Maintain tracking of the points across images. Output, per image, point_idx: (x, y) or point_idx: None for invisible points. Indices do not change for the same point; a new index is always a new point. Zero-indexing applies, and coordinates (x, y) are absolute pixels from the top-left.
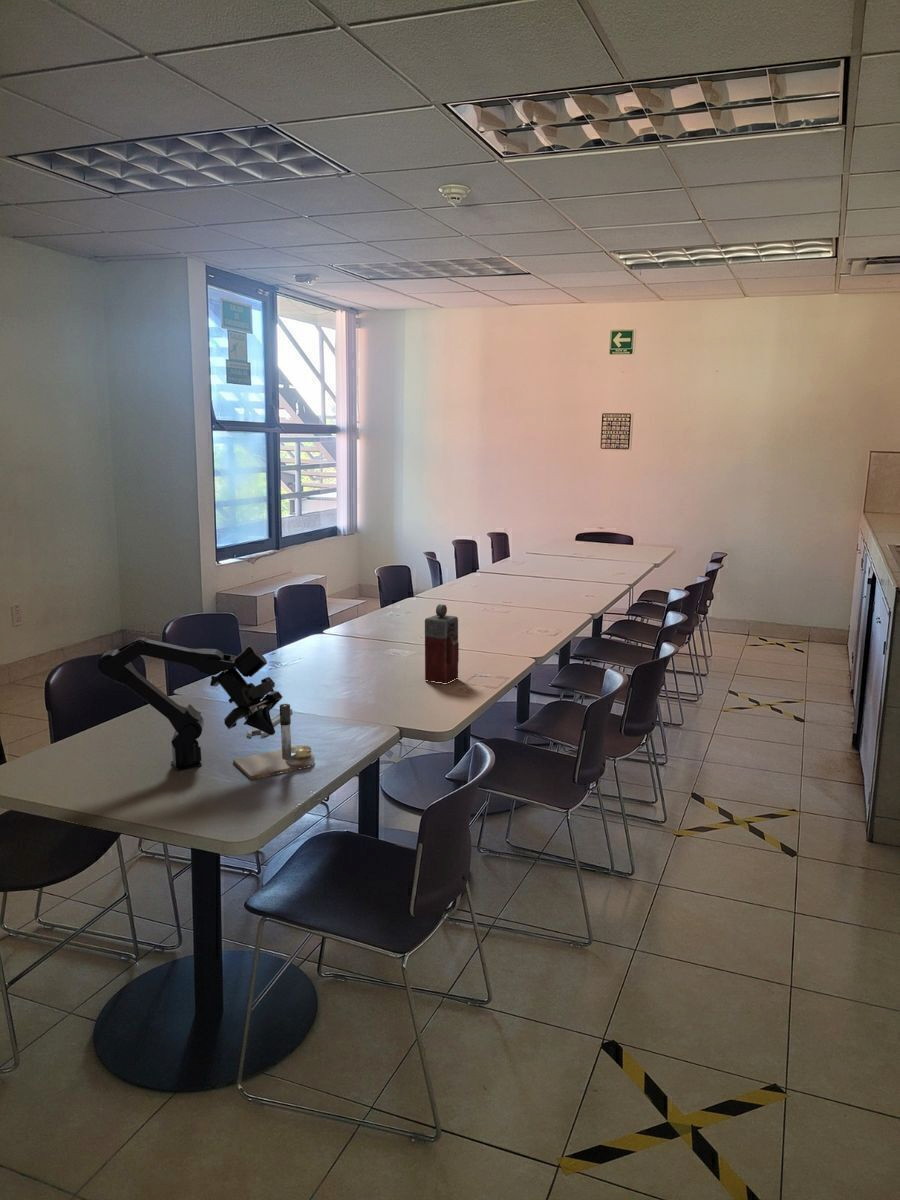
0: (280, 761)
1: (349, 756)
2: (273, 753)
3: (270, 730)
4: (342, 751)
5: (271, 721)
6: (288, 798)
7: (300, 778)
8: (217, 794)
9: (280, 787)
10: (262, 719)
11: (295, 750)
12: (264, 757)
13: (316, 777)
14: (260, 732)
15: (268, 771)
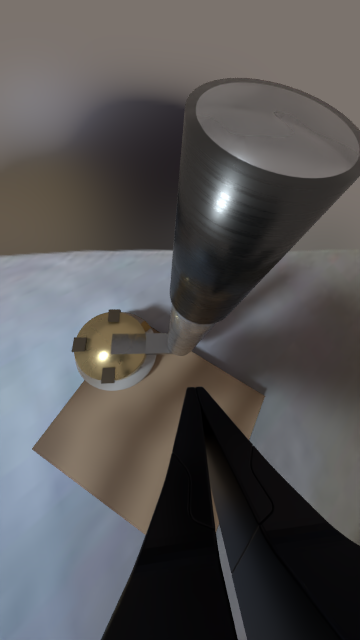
0: (148, 393)
1: (41, 276)
2: (96, 465)
3: (213, 403)
4: (9, 305)
5: (177, 444)
6: (276, 274)
7: None
8: (356, 409)
9: (251, 312)
10: (286, 489)
11: (124, 350)
12: (139, 467)
13: None
14: None
15: (220, 375)
